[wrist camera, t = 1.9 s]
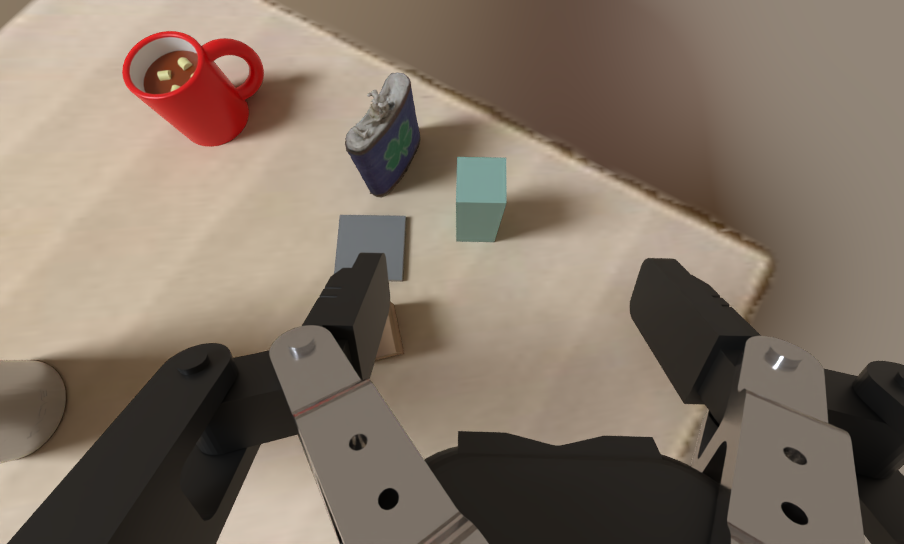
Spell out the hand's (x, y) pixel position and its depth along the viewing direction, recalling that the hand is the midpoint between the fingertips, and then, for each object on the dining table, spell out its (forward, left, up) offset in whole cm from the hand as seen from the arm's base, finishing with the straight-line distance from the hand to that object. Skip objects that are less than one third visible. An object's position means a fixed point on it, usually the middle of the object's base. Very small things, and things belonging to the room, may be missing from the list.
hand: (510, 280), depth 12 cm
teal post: (0, +12, -26) cm, 28 cm away
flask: (-9, +19, -26) cm, 33 cm away
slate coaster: (-11, +9, -26) cm, 30 cm away
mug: (-29, +26, -26) cm, 47 cm away
